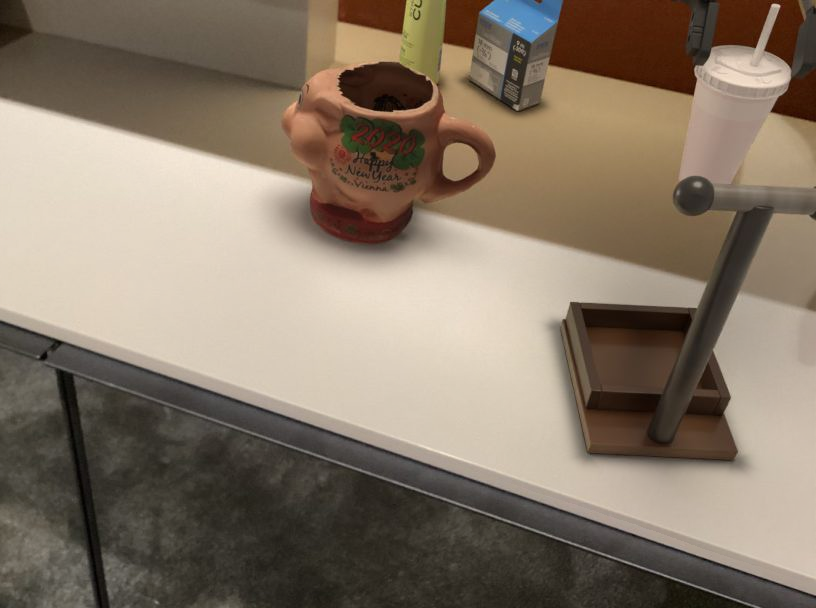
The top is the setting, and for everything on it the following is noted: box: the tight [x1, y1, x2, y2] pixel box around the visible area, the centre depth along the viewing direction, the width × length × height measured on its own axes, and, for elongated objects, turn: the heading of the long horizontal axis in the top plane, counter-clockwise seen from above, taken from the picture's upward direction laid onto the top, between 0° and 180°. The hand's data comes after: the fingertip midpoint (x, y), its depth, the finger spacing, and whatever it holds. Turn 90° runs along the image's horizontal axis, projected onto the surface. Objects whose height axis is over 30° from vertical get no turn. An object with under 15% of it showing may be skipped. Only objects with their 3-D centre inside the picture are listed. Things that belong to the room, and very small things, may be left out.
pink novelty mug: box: [280, 61, 497, 245], centre depth 89 cm, size 20×12×14 cm, turn 75°
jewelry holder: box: [559, 176, 816, 461], centre depth 70 cm, size 11×14×23 cm
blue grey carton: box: [468, 0, 564, 112], centre depth 108 cm, size 9×4×12 cm, turn 33°
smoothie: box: [678, 3, 792, 184], centre depth 70 cm, size 6×6×14 cm
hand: (750, 67), depth 66 cm, fingers closed on smoothie, 6 cm apart
